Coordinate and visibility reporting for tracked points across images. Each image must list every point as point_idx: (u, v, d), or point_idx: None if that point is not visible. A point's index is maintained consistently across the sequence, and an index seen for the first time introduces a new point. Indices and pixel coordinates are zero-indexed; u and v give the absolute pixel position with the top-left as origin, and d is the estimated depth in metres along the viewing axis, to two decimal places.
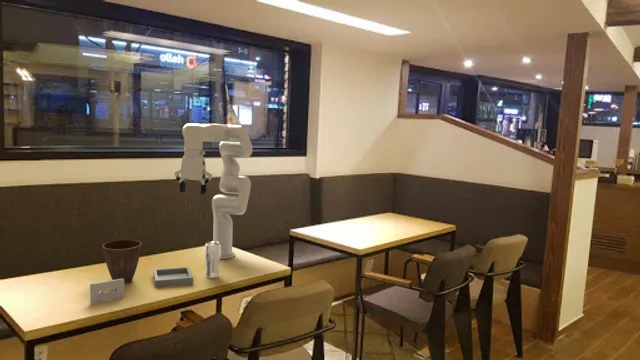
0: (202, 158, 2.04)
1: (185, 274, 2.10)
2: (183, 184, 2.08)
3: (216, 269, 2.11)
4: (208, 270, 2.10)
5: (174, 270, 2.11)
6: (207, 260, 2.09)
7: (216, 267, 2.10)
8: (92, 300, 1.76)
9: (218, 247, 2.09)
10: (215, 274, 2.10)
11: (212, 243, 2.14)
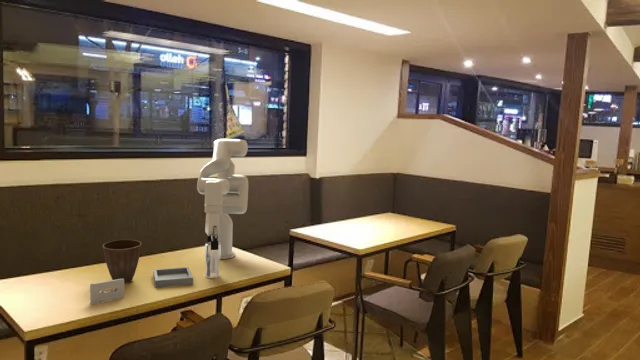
0: None
1: (185, 274, 2.10)
2: None
3: (216, 269, 2.11)
4: (208, 270, 2.10)
5: (174, 270, 2.11)
6: (207, 260, 2.09)
7: (216, 267, 2.10)
8: (92, 300, 1.76)
9: (218, 247, 2.09)
10: (215, 274, 2.10)
11: None
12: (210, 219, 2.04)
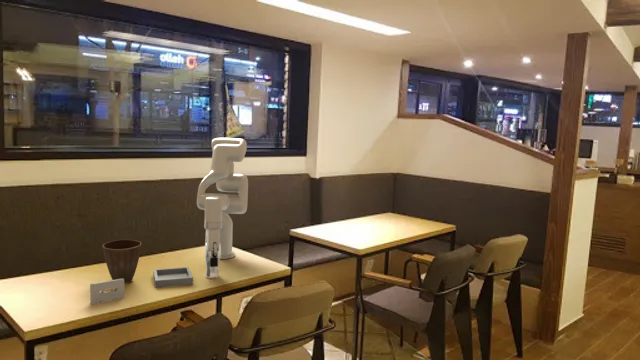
0: None
1: (185, 274, 2.10)
2: None
3: (216, 269, 2.11)
4: (208, 270, 2.10)
5: (174, 270, 2.11)
6: (207, 260, 2.09)
7: (216, 267, 2.10)
8: (92, 300, 1.76)
9: None
10: (215, 274, 2.10)
11: None
12: (210, 236, 2.05)
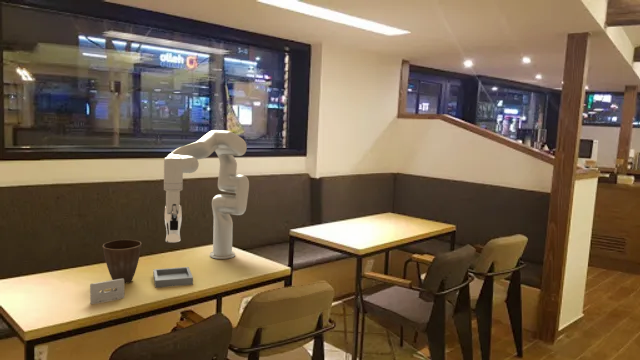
0: None
1: (185, 274, 2.10)
2: None
3: (177, 233, 2.01)
4: (168, 234, 2.00)
5: (174, 270, 2.11)
6: (167, 223, 1.99)
7: (177, 231, 2.01)
8: (92, 300, 1.76)
9: None
10: (175, 238, 2.01)
11: None
12: (169, 197, 1.96)
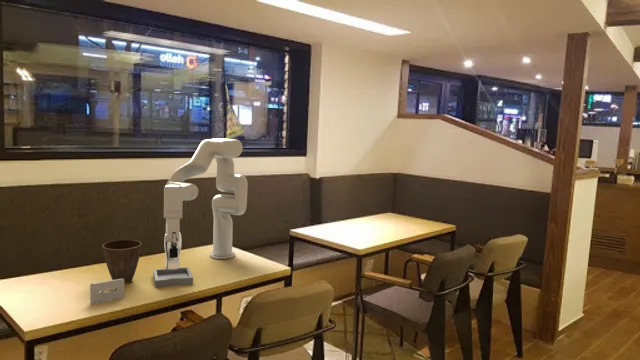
0: None
1: (185, 274, 2.10)
2: None
3: (176, 260, 2.03)
4: (168, 261, 2.02)
5: (174, 270, 2.11)
6: (166, 251, 2.01)
7: (176, 258, 2.02)
8: (92, 300, 1.76)
9: None
10: (175, 265, 2.02)
11: None
12: (169, 225, 1.97)
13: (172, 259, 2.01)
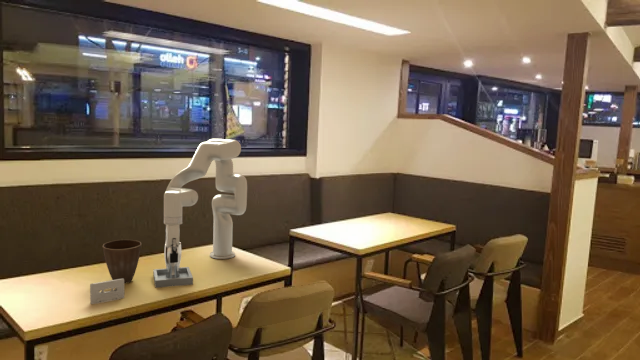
0: None
1: (185, 274, 2.10)
2: None
3: (176, 270, 2.04)
4: (168, 271, 2.03)
5: None
6: (167, 261, 2.02)
7: (176, 268, 2.04)
8: (92, 300, 1.76)
9: (178, 247, 2.02)
10: (175, 275, 2.03)
11: None
12: (169, 231, 1.98)
13: (172, 269, 2.03)
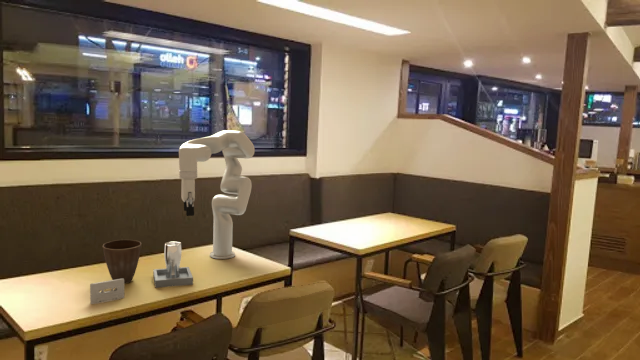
0: None
1: (185, 274, 2.10)
2: None
3: (176, 270, 2.04)
4: (168, 271, 2.03)
5: None
6: (167, 261, 2.02)
7: (176, 268, 2.04)
8: (92, 300, 1.76)
9: (178, 247, 2.02)
10: (175, 275, 2.03)
11: (172, 243, 2.07)
12: (185, 185, 2.04)
13: (172, 269, 2.03)
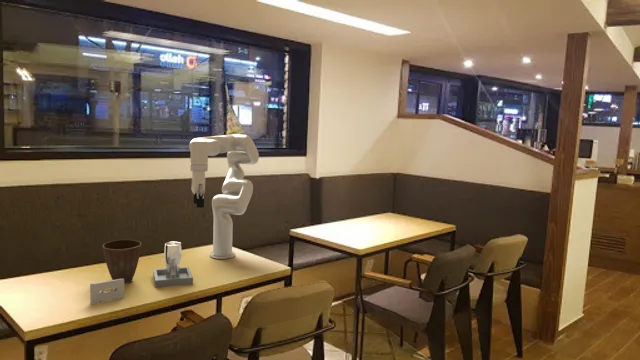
0: None
1: (185, 274, 2.10)
2: None
3: (176, 270, 2.04)
4: (168, 271, 2.03)
5: None
6: (167, 261, 2.02)
7: (176, 268, 2.04)
8: (92, 300, 1.76)
9: (178, 247, 2.02)
10: (175, 275, 2.03)
11: (172, 243, 2.07)
12: (195, 177, 2.09)
13: (172, 269, 2.03)
